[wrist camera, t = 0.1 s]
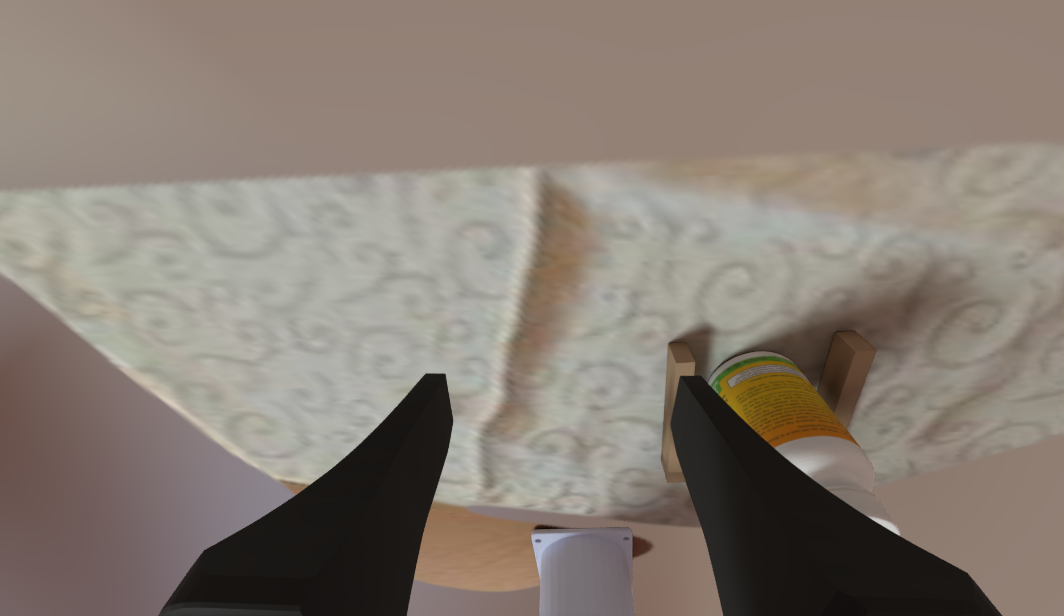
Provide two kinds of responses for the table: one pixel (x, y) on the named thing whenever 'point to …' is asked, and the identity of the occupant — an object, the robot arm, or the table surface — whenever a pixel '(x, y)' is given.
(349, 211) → the table surface
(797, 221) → the table surface
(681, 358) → the wooden frame
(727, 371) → the supplement bottle
